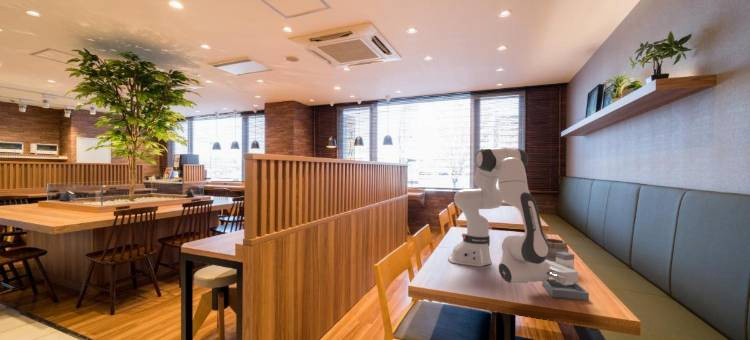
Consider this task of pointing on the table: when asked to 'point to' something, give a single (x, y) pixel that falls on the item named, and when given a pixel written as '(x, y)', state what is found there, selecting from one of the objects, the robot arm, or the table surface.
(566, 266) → the plug
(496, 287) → the table surface
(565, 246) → the tankard
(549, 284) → the walled box
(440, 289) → the table surface
